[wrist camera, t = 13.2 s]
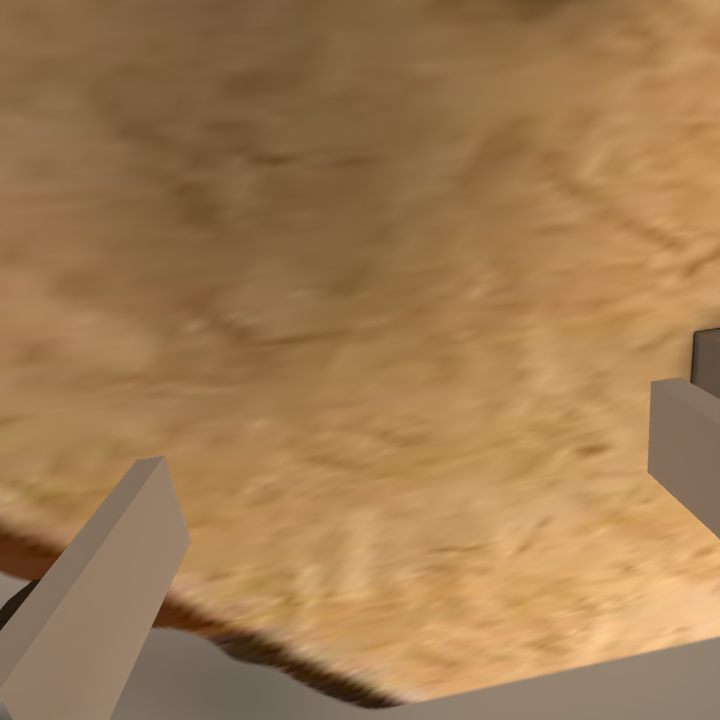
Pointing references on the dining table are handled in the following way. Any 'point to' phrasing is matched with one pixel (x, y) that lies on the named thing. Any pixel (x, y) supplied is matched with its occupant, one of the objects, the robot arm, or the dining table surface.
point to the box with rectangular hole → (707, 361)
